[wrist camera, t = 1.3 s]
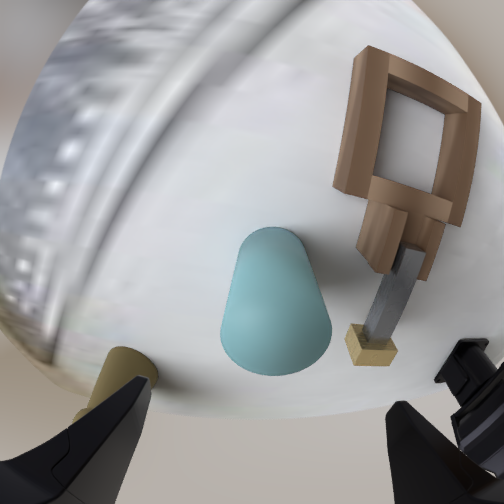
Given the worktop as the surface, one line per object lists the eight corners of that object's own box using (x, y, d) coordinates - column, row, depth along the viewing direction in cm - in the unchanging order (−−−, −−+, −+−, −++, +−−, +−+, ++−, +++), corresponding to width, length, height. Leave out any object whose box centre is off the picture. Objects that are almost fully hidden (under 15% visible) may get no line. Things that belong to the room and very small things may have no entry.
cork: (169, 376, 25) (138, 464, 15) (138, 391, 27) (106, 466, 17) (125, 337, 24) (75, 422, 14) (99, 357, 25) (55, 429, 15)
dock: (459, 105, 15) (493, 102, 10) (425, 261, 20) (452, 285, 15) (354, 58, 14) (376, 37, 10) (319, 240, 19) (333, 265, 15)
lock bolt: (417, 242, 16) (439, 259, 14) (377, 341, 19) (389, 366, 17) (382, 234, 16) (402, 250, 14) (344, 339, 19) (353, 365, 17)
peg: (313, 233, 19) (346, 298, 11) (297, 294, 21) (313, 379, 13) (243, 221, 19) (227, 280, 11) (233, 284, 21) (215, 367, 13)
